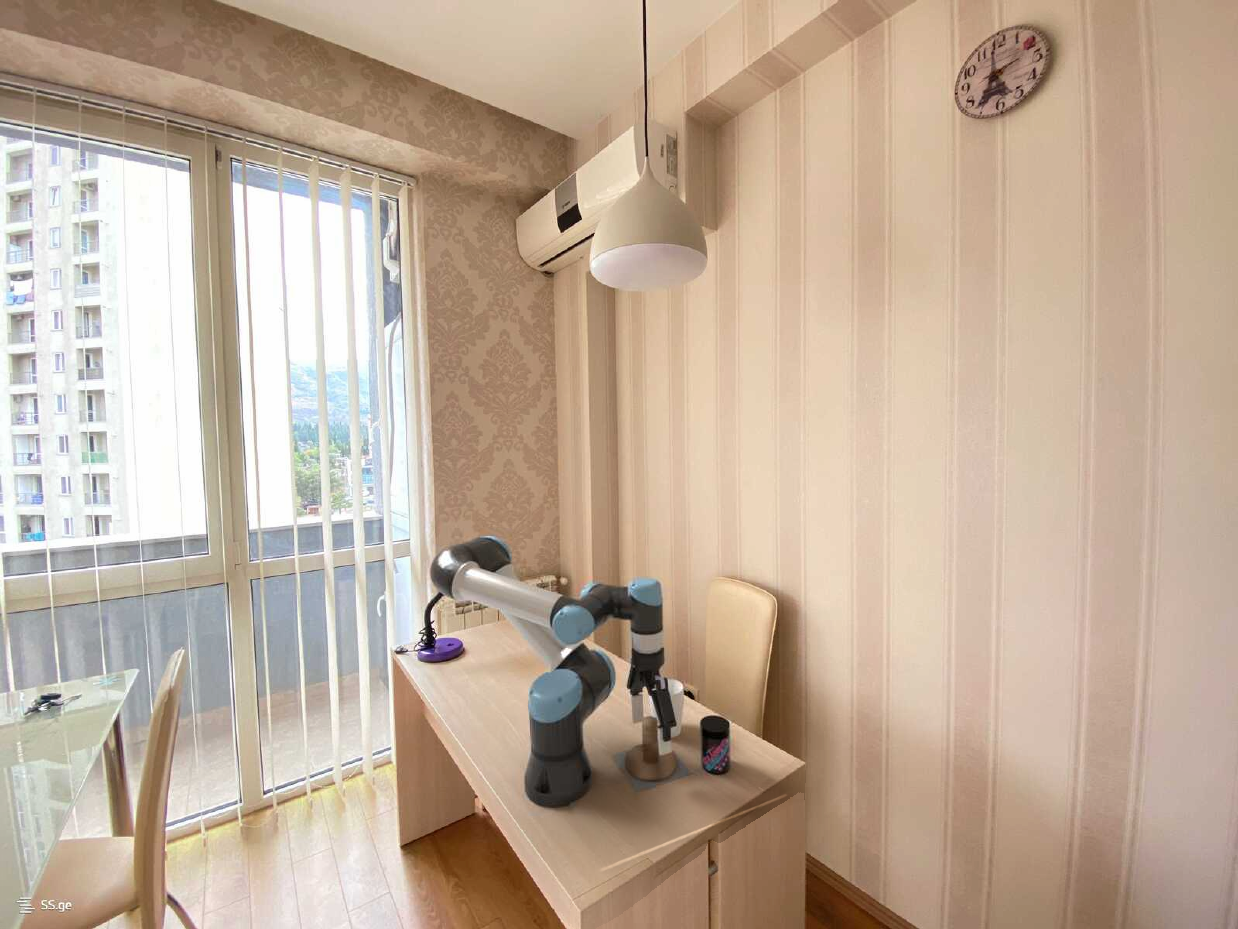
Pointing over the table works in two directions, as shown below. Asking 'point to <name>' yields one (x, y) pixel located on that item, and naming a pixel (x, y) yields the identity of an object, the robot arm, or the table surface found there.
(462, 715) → the table surface
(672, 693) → the cup
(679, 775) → the mat
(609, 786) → the table surface
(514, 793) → the table surface
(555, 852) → the table surface
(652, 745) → the lid
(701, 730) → the supplement container
